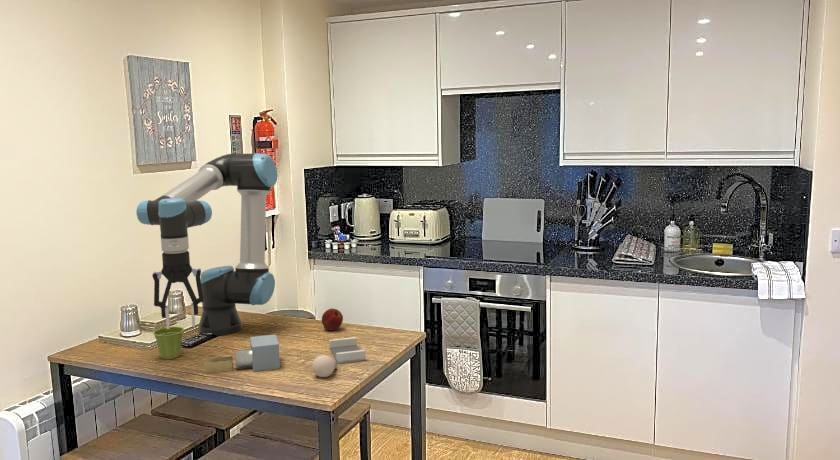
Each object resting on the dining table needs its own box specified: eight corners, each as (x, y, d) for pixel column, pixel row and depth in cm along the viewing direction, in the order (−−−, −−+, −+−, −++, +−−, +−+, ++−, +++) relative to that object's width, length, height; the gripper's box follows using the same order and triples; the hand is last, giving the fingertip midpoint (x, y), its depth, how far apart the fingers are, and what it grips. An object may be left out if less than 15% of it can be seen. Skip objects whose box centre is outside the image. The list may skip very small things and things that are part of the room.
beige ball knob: (327, 350, 203) (311, 352, 192) (346, 357, 200) (331, 359, 190) (322, 371, 202) (305, 374, 192) (340, 377, 200) (325, 381, 190)
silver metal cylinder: (236, 371, 199) (235, 354, 198) (235, 365, 205) (234, 348, 204) (276, 367, 203) (275, 349, 202) (274, 360, 208) (273, 343, 207)
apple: (330, 334, 233) (330, 312, 232) (317, 329, 239) (316, 308, 237) (346, 329, 239) (346, 308, 237) (333, 325, 244) (332, 304, 243)
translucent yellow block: (205, 369, 201) (205, 358, 201) (232, 367, 203) (232, 356, 203) (204, 374, 198) (204, 362, 197) (232, 371, 200) (231, 360, 199)
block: (251, 360, 208) (250, 337, 207) (276, 357, 211) (275, 334, 209) (253, 371, 199) (251, 347, 198) (280, 368, 201) (278, 344, 200)
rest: (329, 349, 218) (329, 339, 217) (356, 346, 220) (355, 337, 220) (337, 363, 204) (337, 354, 204) (365, 360, 207) (365, 350, 206)
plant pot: (156, 353, 216) (154, 328, 215) (186, 350, 219) (184, 325, 217) (153, 362, 207) (151, 336, 206) (185, 359, 210) (183, 333, 209)
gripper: (138, 255, 185) (145, 333, 189) (210, 251, 191) (215, 326, 195) (141, 251, 192) (147, 326, 196) (210, 246, 198) (214, 319, 202)
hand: (181, 326), depth 195 cm, fingers open, 6 cm apart
